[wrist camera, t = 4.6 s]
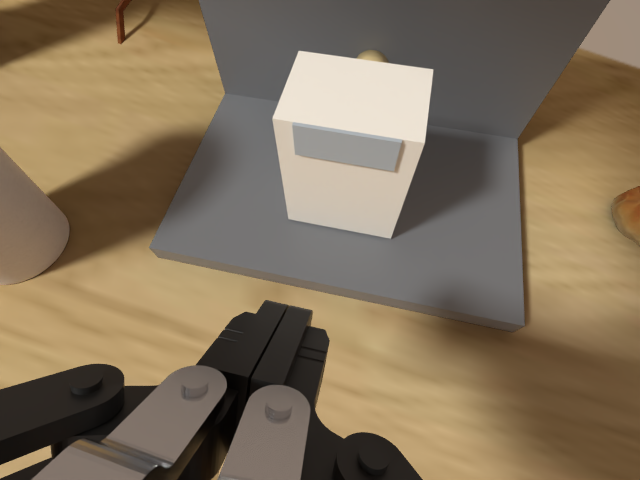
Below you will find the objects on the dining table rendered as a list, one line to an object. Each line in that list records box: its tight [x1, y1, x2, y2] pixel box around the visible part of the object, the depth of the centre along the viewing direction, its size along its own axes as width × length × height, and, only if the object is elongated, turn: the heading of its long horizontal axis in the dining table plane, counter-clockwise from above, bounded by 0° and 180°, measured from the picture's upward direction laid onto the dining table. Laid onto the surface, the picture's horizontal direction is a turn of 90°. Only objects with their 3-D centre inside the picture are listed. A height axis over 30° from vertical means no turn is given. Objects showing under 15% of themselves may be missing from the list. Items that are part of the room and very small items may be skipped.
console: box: [149, 0, 610, 332], centre depth 23 cm, size 24×20×14 cm
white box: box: [272, 51, 433, 239], centre depth 21 cm, size 7×5×9 cm
